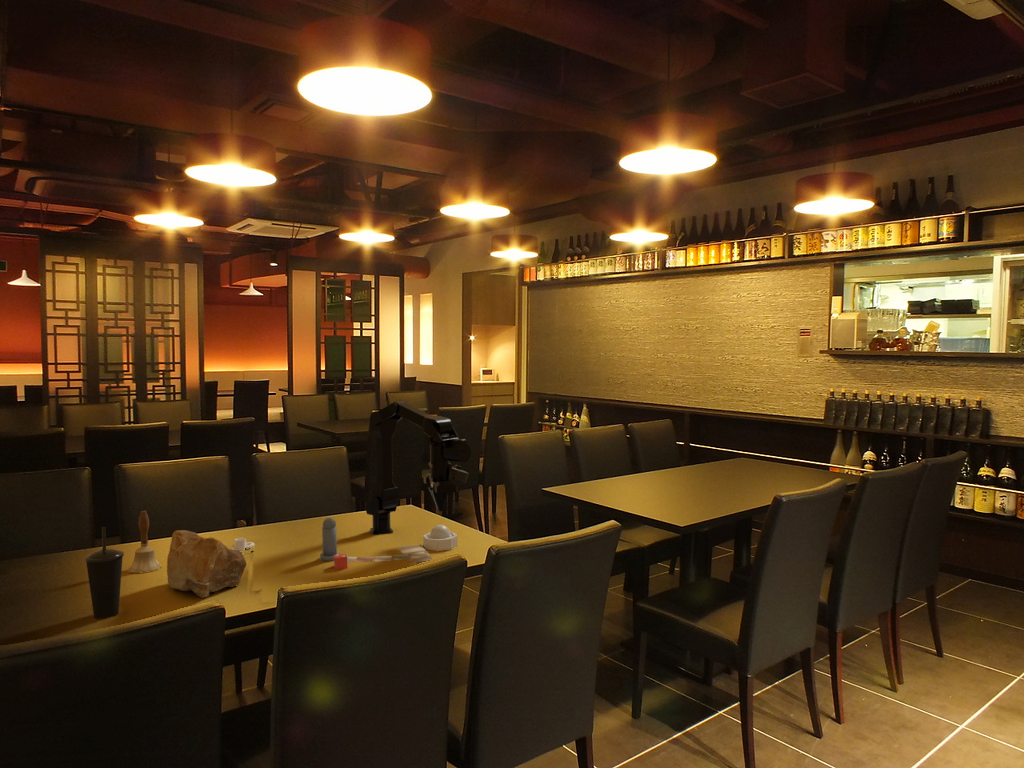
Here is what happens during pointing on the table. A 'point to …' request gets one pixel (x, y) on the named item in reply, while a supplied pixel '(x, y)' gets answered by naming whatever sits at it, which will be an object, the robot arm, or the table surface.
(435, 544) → the dome housing
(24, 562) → the table surface
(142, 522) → the hand bell
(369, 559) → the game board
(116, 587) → the drinking cup
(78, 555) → the table surface
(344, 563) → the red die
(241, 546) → the teacup and saucer
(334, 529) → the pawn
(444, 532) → the dome button
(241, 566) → the rough brown rock
